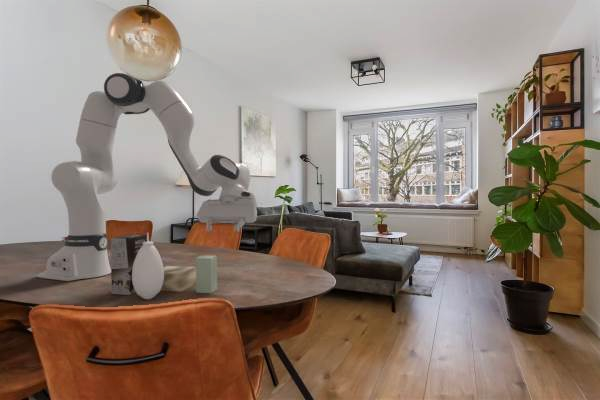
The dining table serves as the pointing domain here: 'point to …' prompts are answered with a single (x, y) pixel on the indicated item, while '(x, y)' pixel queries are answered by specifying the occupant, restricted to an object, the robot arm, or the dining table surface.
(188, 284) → the base block
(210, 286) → the sage post
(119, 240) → the coffee box
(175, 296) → the dining table surface
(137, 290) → the white air blower bulb
